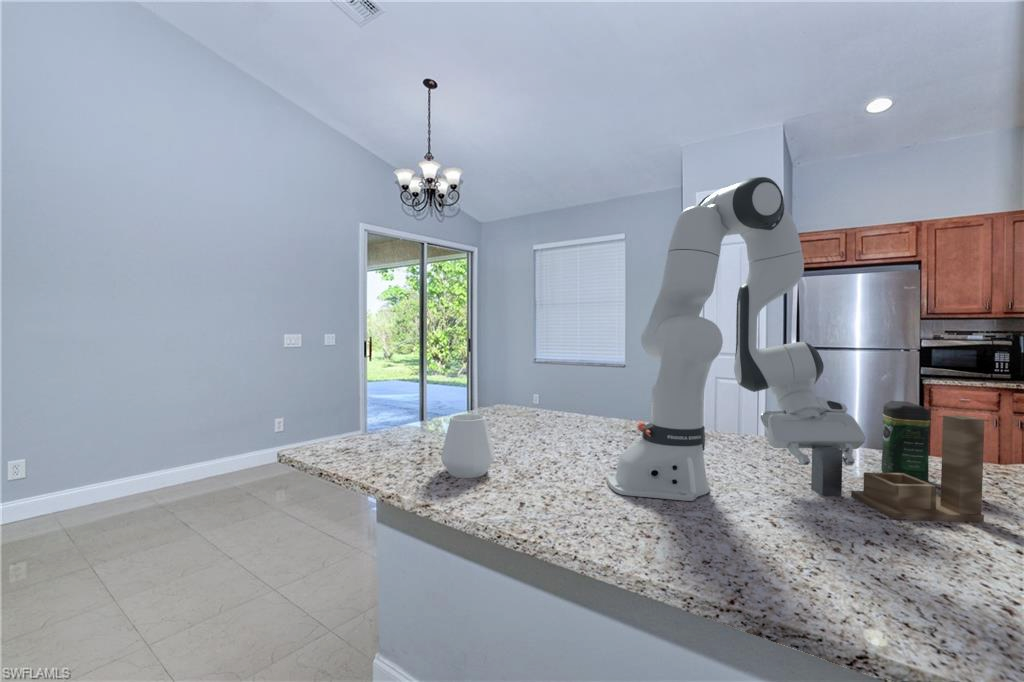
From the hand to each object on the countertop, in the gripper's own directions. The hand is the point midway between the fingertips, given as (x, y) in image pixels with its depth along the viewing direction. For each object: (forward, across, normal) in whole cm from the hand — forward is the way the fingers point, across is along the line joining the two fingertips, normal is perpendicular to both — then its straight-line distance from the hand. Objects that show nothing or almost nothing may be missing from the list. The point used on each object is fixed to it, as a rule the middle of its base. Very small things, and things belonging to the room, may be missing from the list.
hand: (827, 463), depth 100 cm
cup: (-2, -81, +11) cm, 82 cm away
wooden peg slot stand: (+10, +12, -1) cm, 16 cm away
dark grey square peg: (+4, 0, +5) cm, 6 cm away
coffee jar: (-3, +25, +13) cm, 28 cm away
